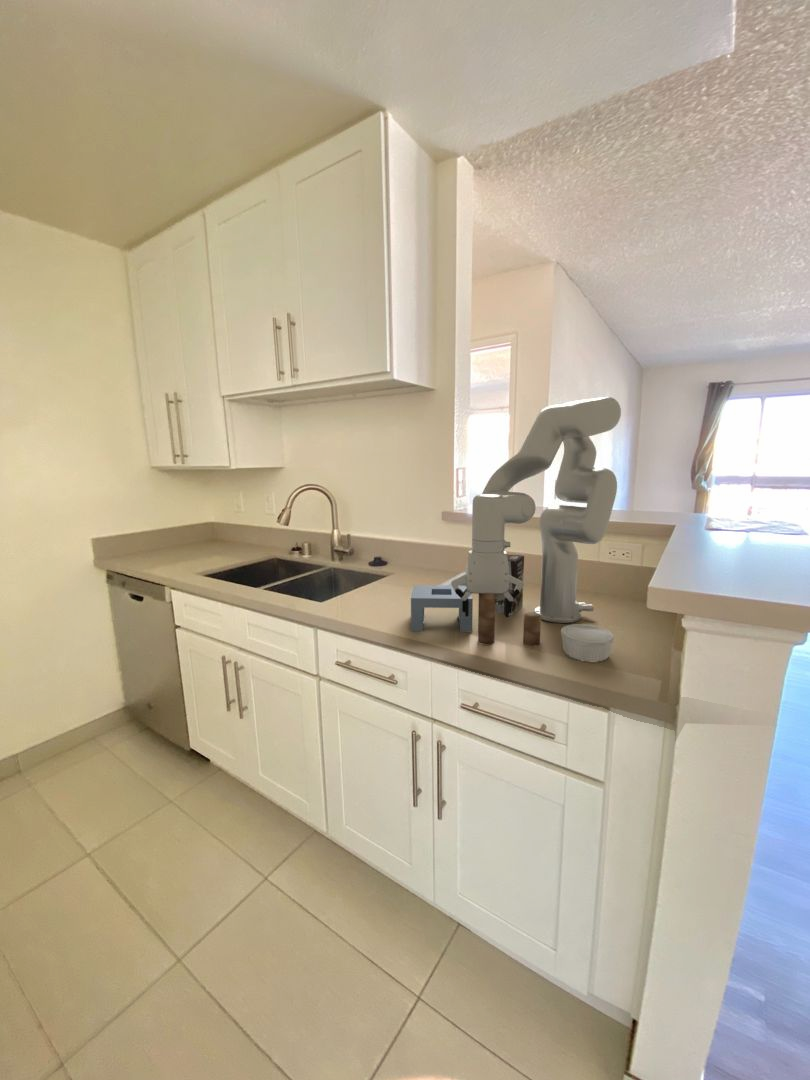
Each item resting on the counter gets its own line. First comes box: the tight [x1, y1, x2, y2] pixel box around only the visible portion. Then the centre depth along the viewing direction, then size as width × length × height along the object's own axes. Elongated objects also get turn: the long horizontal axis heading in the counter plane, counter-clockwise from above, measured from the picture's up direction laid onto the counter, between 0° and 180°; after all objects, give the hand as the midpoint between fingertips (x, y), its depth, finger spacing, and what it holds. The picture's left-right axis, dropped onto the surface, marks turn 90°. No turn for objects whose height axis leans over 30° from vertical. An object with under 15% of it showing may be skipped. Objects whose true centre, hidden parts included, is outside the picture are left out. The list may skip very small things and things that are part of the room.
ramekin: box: [560, 623, 615, 662], centre depth 99 cm, size 11×11×5 cm
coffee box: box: [495, 554, 525, 616], centre depth 129 cm, size 9×6×16 cm
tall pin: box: [477, 593, 496, 646], centre depth 106 cm, size 4×4×14 cm
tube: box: [436, 570, 466, 586], centre depth 146 cm, size 5×5×25 cm
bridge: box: [410, 584, 474, 633], centre depth 119 cm, size 16×12×9 cm
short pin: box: [522, 611, 542, 647], centre depth 106 cm, size 4×4×7 cm
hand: (486, 615), depth 106 cm, fingers open, 9 cm apart
